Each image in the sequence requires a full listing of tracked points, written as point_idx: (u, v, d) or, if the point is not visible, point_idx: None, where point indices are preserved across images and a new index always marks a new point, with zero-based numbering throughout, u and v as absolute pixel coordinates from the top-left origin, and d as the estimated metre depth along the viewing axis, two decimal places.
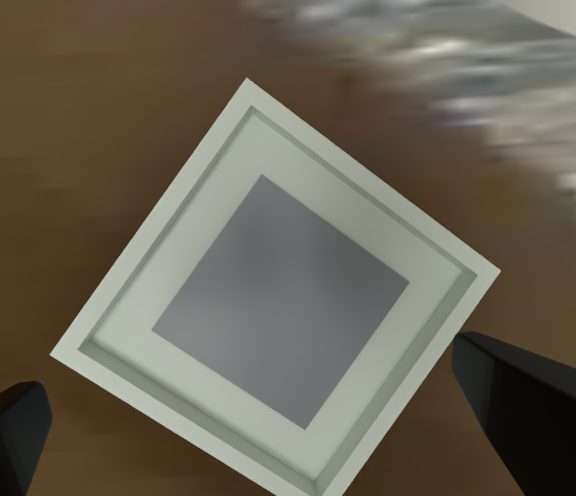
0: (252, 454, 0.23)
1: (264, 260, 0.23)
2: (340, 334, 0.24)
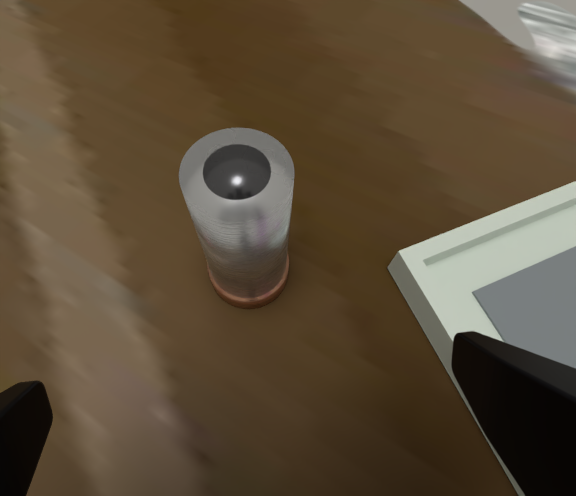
0: None
1: None
2: None
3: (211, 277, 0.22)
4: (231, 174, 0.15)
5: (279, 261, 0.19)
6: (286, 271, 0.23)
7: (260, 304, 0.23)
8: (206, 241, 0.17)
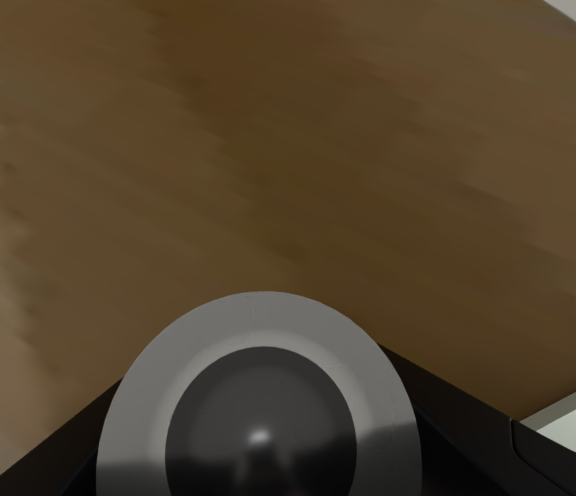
0: None
1: None
2: None
3: None
4: (246, 458, 0.05)
5: None
6: None
7: None
8: None
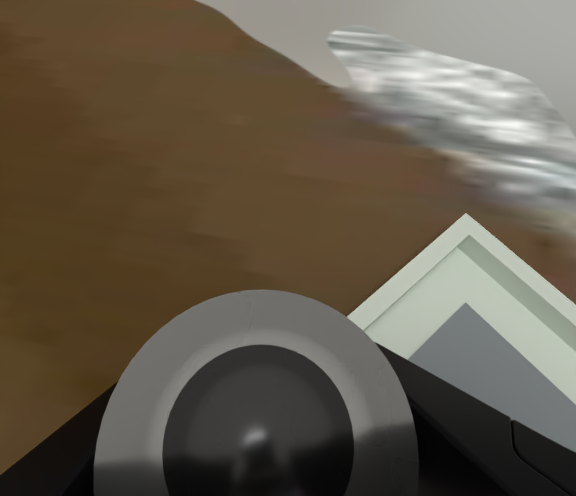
0: None
1: None
2: None
3: None
4: (244, 456, 0.05)
5: None
6: None
7: None
8: None
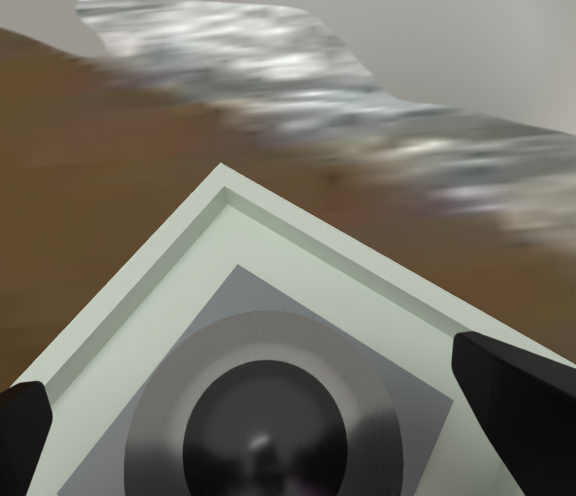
0: None
1: None
2: None
3: None
4: (252, 457, 0.06)
5: None
6: None
7: None
8: None
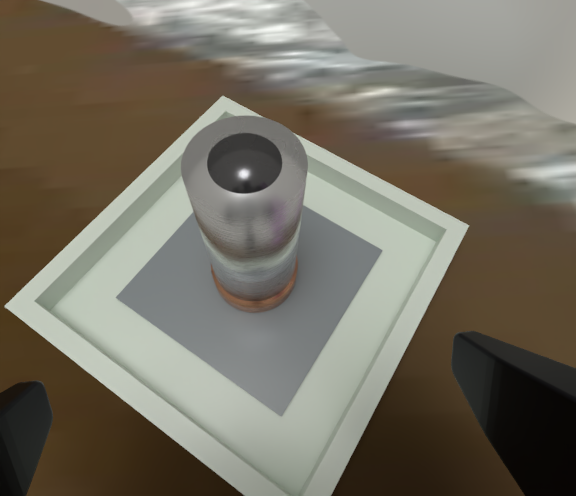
0: (213, 437, 0.18)
1: None
2: (316, 301, 0.22)
3: (215, 279, 0.21)
4: (238, 165, 0.14)
5: (288, 262, 0.18)
6: (295, 273, 0.21)
7: (267, 308, 0.21)
8: (210, 239, 0.15)
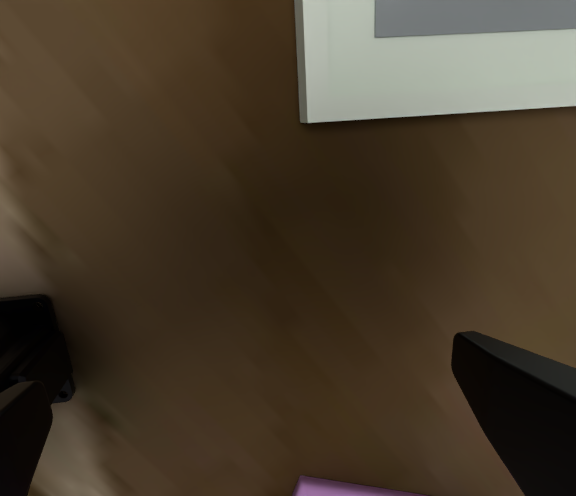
0: None
1: None
2: None
3: None
4: None
5: None
6: None
7: None
8: None
